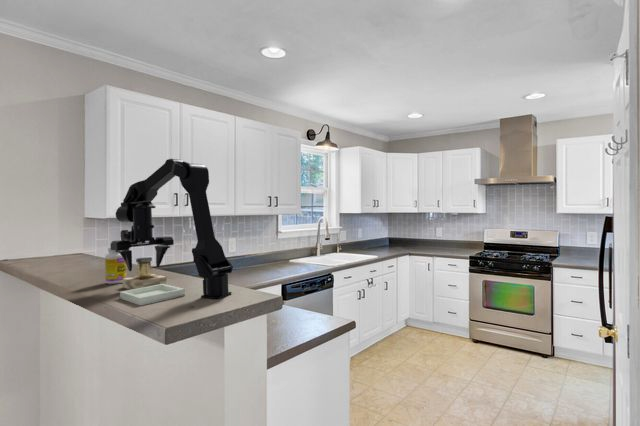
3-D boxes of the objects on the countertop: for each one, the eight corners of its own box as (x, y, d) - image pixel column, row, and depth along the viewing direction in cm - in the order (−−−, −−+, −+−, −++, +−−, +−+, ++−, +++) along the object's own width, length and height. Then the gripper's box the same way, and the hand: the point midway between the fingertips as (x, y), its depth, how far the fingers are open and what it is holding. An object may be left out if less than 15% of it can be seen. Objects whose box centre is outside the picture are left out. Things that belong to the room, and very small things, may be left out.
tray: (184, 295, 111) (184, 288, 111) (140, 305, 101) (140, 298, 101) (163, 290, 120) (162, 283, 120) (120, 298, 110) (119, 291, 110)
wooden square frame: (166, 285, 126) (166, 276, 126) (136, 291, 119) (136, 281, 119) (152, 282, 133) (152, 273, 133) (123, 287, 125) (122, 278, 125)
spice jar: (156, 285, 127) (154, 257, 127) (144, 288, 123) (143, 259, 122) (145, 284, 129) (143, 257, 129) (133, 287, 124) (132, 259, 124)
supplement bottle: (118, 284, 130) (116, 247, 130) (101, 284, 132) (100, 247, 131) (131, 280, 137) (130, 245, 136) (115, 280, 138) (114, 245, 138)
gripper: (158, 220, 137) (159, 263, 138) (102, 223, 123) (104, 271, 124) (173, 220, 130) (175, 265, 131) (116, 224, 116) (118, 274, 116)
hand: (144, 268), depth 126 cm, fingers open, 9 cm apart
